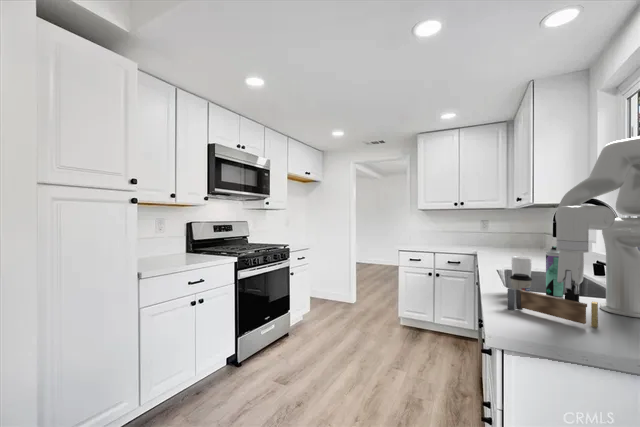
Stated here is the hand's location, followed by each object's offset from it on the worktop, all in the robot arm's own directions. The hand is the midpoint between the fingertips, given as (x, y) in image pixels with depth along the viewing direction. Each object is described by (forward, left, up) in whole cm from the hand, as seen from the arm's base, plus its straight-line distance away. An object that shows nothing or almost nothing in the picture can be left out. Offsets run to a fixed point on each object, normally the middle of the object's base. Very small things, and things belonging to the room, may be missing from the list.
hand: (571, 306), depth 91 cm
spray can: (-30, -10, -5) cm, 32 cm away
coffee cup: (-13, -17, -5) cm, 22 cm away
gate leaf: (+2, -5, -4) cm, 7 cm away
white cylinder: (-25, -20, -5) cm, 33 cm away
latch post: (0, +5, -5) cm, 7 cm away
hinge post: (0, -16, -5) cm, 17 cm away
